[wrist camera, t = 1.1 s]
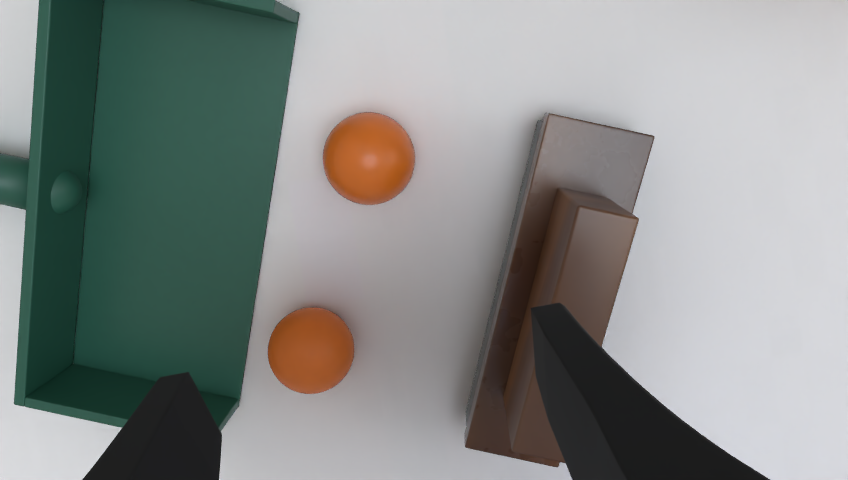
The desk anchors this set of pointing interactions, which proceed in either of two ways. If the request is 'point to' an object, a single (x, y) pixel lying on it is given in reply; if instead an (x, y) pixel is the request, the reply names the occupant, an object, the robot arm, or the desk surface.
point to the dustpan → (146, 198)
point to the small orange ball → (368, 158)
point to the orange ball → (311, 350)
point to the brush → (554, 272)
